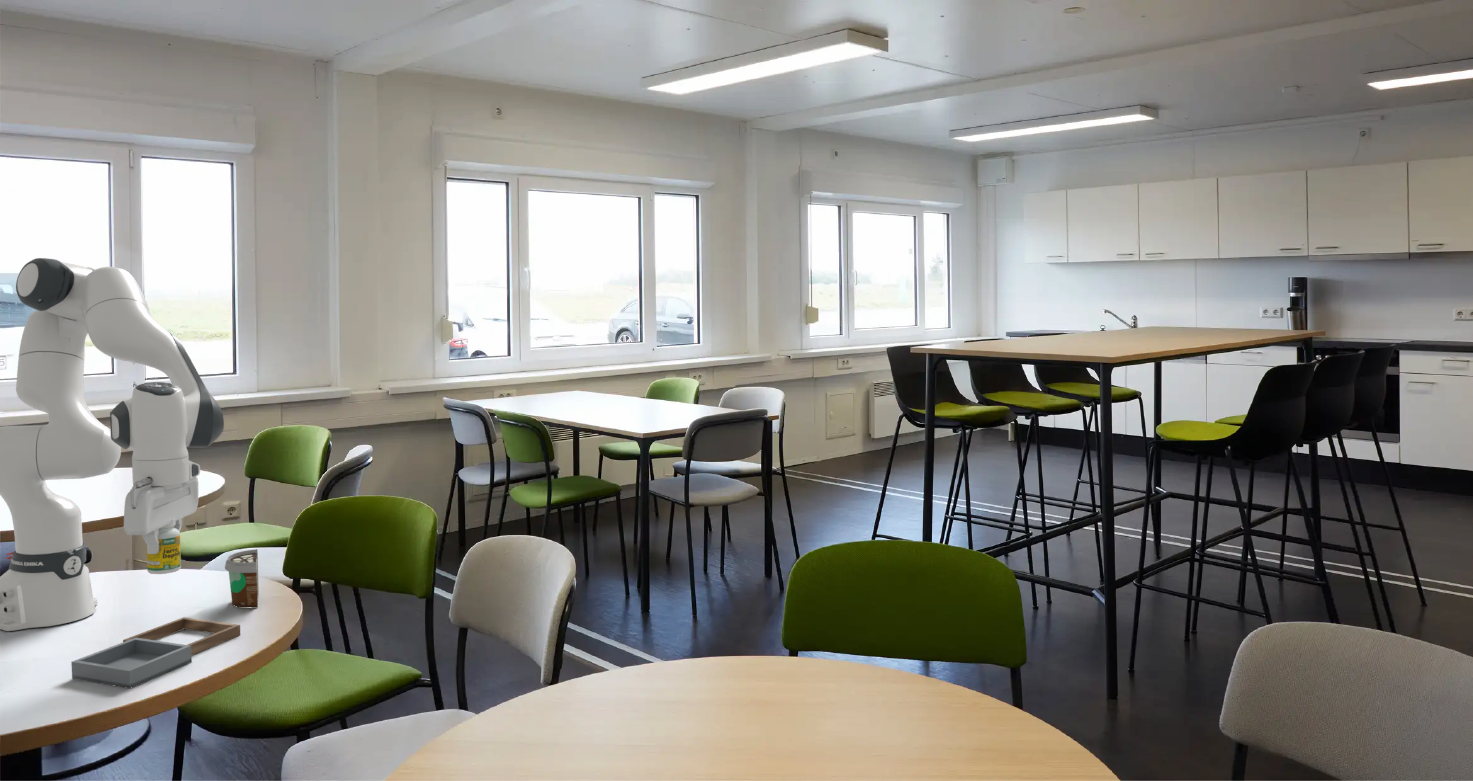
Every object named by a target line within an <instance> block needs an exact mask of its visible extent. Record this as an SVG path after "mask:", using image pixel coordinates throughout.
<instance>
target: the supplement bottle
mask: <svg viewBox="0 0 1473 781" xmlns="http://www.w3.org/2000/svg"><path fill="white" fill-rule="evenodd" d="M175 524H176V523H175V519H172V520H171V522H170V524H168V525H166V526H164V527H162V528H159V529H158V530H159V534H158V535H157V537H158V541H159V542H161V551H160V552H159V553H157V554H148V553H147V552H146V568H147V569H146V571H147V573H149V574H151V575H166V574H172V573H176V572H178V571H179V570H181V568H182V565H181V564H182V562H181V561H182V557H181V556H182V555H181V554H182V553H181V533H180V532H181V531H180V532H179V530H178V529H176V528H174V526H175ZM145 544H146V543H145ZM145 547H146V549H147V544H146V546H145Z"/></svg>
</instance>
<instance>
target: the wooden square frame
mask: <svg viewBox="0 0 1473 781" xmlns="http://www.w3.org/2000/svg"><path fill="white" fill-rule="evenodd" d="M182 630H189V631H197V632H204V633H212V634H209V635H207V636H204V637H203V638H201V639H198V640H195V641H193V642H190V643H187V645H190V646H191V654H192V656H195V655H197V654H199V653H201V652H203V651H205V650H209V649H211V648H213V647H215V646H218V645H220V644H222V643H224V642H228V641H230V640H232V639H235V638H236V637H239V636H241V625H240V624H238V623H237V624H235V623H227V622H221V621H220V622H219V621H215V620H214V621H213V620H208V619H207V620H206V619H201V618H200V619H199V618H191V617H185V616H184V617H182V618H179V619H175V620H173V621H170V622H168V623H165V624H162V625H159V626H157V627H154V628H150V629H149V630H146V631H143V632H140V633H138V634H135V635H132V636H129V637H127V638H124V639H123V640H122V643H123V642H125V641H128V640H131V639H133V638H142V639H149V640H156V641H158V640H159V639H161V638H164V637H166V636H169V634H170V635H172V634H175V633H177V632H179V631H182Z"/></svg>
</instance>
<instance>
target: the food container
mask: <svg viewBox="0 0 1473 781" xmlns="http://www.w3.org/2000/svg"><path fill="white" fill-rule="evenodd" d="M258 552H259V551H258V549H256V548H255V549H248V550H242V551H237V552H234V553H232V554H230V555H229V556H227V559H226V561H225V564H224V570H226V571H227V572H228V577H229V578H228V580H229V586H230V595H231V597H230V598H231V605H232V604H233V605H235V606H237V607H236V608H239V607H258V608H259V597H260V596H259V595H260V594H259V592H260V591H259V561H258V560H259V558H258V557H259V556H258V554H259V553H258ZM233 605H232V606H233ZM235 606H234V607H235Z"/></svg>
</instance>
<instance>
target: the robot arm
mask: <svg viewBox="0 0 1473 781" xmlns="http://www.w3.org/2000/svg"><path fill="white" fill-rule="evenodd" d="M15 283H16V284H15V290H16V294H17V297H18V299H19V301H20V303H22V304H24V305H25V306H27V307H29V308H31V309H34V311H32V312H31V313H30V315H29V316H28V317H27V320H26V322H25V325H24V328H23V332H22V336H21V339H20V343H19V351H18V352H19V353H18V360H17V361H18V362H17V372H16V385H15V386H16V387H15V392H16V395H17V398H19V400H20V401H21V402H23V404H25V405H26V406H28V407H30V408H33V409H35V410H38V411H40V412H43V413H46V414H48V418H49V419H48V423H45V424H40V425H39V424H38V425H37V424H35V425H33V424H32V425H31V424H30V425H4V426H0V497H1V498H2V499H3V500H4V502H5V503H6V505H7V507H8V509H9V512H10V515H11V518H12V519H11V520H12V525H13V527H12V528H13V534H14V546H15V550H14V551H12V552H8V553H5V556H7V557H6V558H5V560H10V563H9V567H8V570H7V571H5V572H4V573H2V575H1V576H0V630H2V631H5V632H10V631H12V632H13V631H19V630H25V629H33V628H44V627H52V626H58V625H64V624H67V623H68V624H69V623H71V622H76V621H78V620H82V619H84V618H87V617H89V616H91V615H93V614H94V613H95V612H96V610H97V609H96V606H97V605H98V598H97V597H94V594H93V587H92V582H91V581H92V580H91V575H90V570H89V567H88V566H86V565H85V562H87V549H86V544H85V543H83V525H82V524H83V523H82V511H81V509H80V507H79V506H78V504H77V503H75V502H74V501H73V500H71V498H70V499H69V498H67V497H64V496H62V495H59V494H56V493H55V492H53V491H52V490H51V489H50V488H49V487H48V485H47V484H46V481H53V480H54V481H55V480H76V479H77V480H79V479H80V480H81V479H87V478H94V477H98V476H102V475H106V474H110V472H112V471H113V470H114V468H116V466H117V464H119V461H120V458H121V455H122V449H124V450H128V451H129V450H130V451H132V456H131V466H132V467H131V469H132V484H133V486H132V488H131V489H130V490H129V492H127V494H126V497H125V499H124V507H123V508H124V510H123V530H124V532H125V533H126V536H127V535H129V536H142V538H143V541H144V542H145V544H147V548H146V554H147V553H148V554H157V553H159V552H160V551H161V542H159V541H158V537H157V535H158V534H159V530H158V529H159V528H162V527H164V526H166V525H168V524H170V522H171V520H172V519H175V523H176V524H175V526H174V528H176V529H178V530H179V532H181V530H182V526H183V519H184V518H185V517H189V516H190V515H192V514H194V513H196V512H197V508H198V505H199V493H200V492H199V488H200V487H199V480H198V476H200V474H201V466H200V464H199V463H196V462H193V461H192V460H189V458H190V456H189V450H188V448H208V447H209V446H211V445H212V444H213V443H214V442H215V441H217V440H218V439H219V437H221V435H222V434H223V432H224V428H225V422H224V421H225V420H224V415H223V411H222V409H221V406H220V404H219V403H218V402H217V401H216V400H217V399H215V398H214V397H213V395H212V394H211V393H210V392H209V390H208V388H207V387H206V385H205V383H204V381H203V379H202V377H201V376H200V374H199V372H198V370H197V368H196V367H195V365H194V363H193V362H192V359H191V357H190V356H189V354H188V352H187V351H186V349H185V347H184V345H183V344H182V342H181V341H180V340H179V338H178V337H177V335H175V334H174V333H171V332H169V331H167V330H166V329H164V327H162V326H161V325H160V324H159V323H158V322H157V321H156V320H155V319H154V318H153V316H152V315H151V312H150V309H149V307H148V303H147V300H146V297H145V295H144V292H143V291H142V290H141V287H140V285H139V283H138V282H137V281H136V278H135V277H134V275H132V274H131V273H130V272H129V271H127V270H125V269H124V268H121V267H115V266H103V267H98V268H96V269H95V268H92V267H85V266H81V265H78V264H73V263H68V262H62V261H60V260H58V259H54V258H46V257H45V258H44V257H38V258H34V259H32V260H30V261H28V262H26V263H25V264H24V265H23V266H22V268H21V270H20V271H19V273H18V275H17V279H16V282H15ZM87 336H88V337H89V339H90V341H91V343H92V344H93V345H94V347H95V348H96V349H97V350H99V351H100V352H101V353H102V354H104V355H106V356H108V357H110V358H113V359H115V360H120V361H123V362H129V363H134V364H138V365H143V366H145V367H146V366H147V367H149V368H154V369H155V370H158V371H159V372H160V371H161V372H162V373H163V374H165V375H166V376H167V377H168V379H169V381H170V382H163V381H151V382H144V383H139V384H138V385H136V386H134V388H133V390H132V396H131V398H129V399H127V400H122V401H121V402H119V403H118V404H116V406H114V407H113V409H111V411H110V412H109V418H110V419H109V422H110V423H109V424H110V428H109V427H108V426H106V425H105V424H103V423H102V422H101V421H99V420H98V419H97V418H96V416H95V415H93V413H92V412H91V410H90V409H89V406H88V404H87V402H86V398H85V386H84V376H85V375H84V373H85V372H84V371H85V370H84V368H85V354H86V352H85V344H86V337H87Z"/></svg>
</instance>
